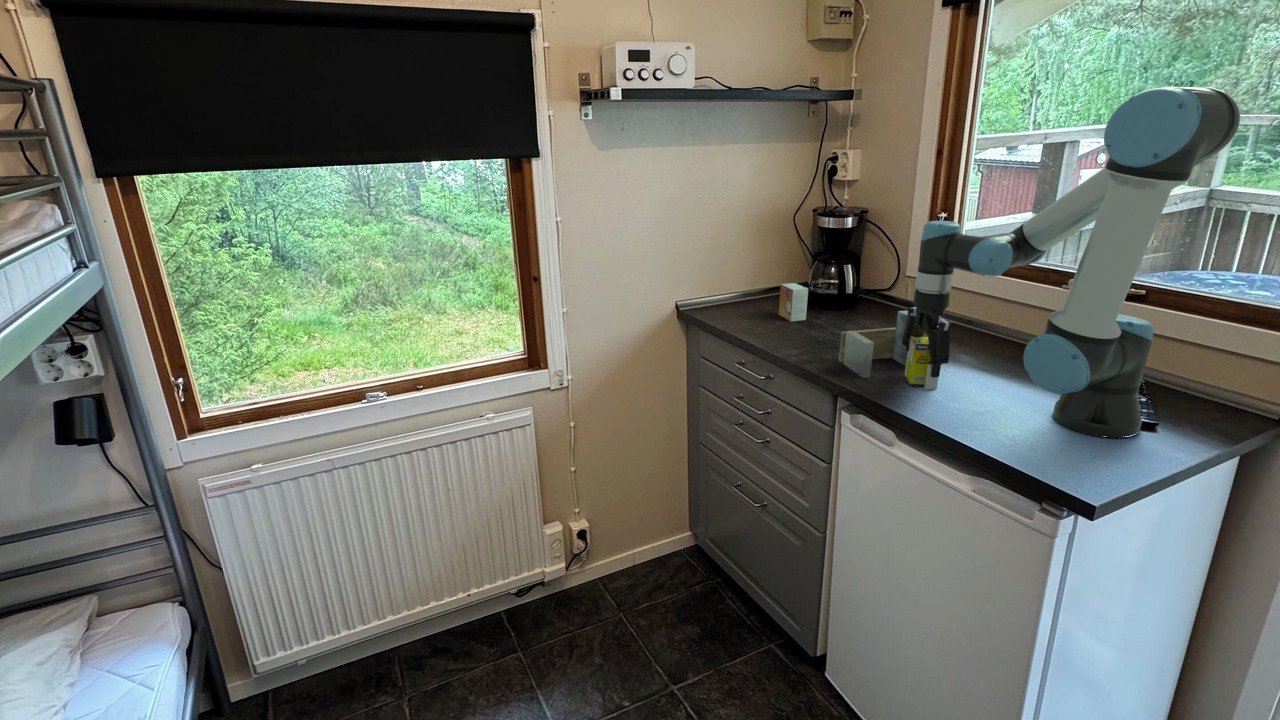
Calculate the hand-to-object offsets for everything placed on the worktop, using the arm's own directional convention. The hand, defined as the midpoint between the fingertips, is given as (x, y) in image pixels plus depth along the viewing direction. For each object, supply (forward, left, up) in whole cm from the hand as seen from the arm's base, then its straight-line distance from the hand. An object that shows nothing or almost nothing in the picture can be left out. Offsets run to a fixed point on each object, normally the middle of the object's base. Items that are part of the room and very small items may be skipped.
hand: (920, 382), depth 159 cm
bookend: (+11, +10, 0) cm, 16 cm away
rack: (+12, +2, 0) cm, 13 cm away
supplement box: (0, 0, 0) cm, 0 cm away
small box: (+60, +7, 0) cm, 60 cm away
